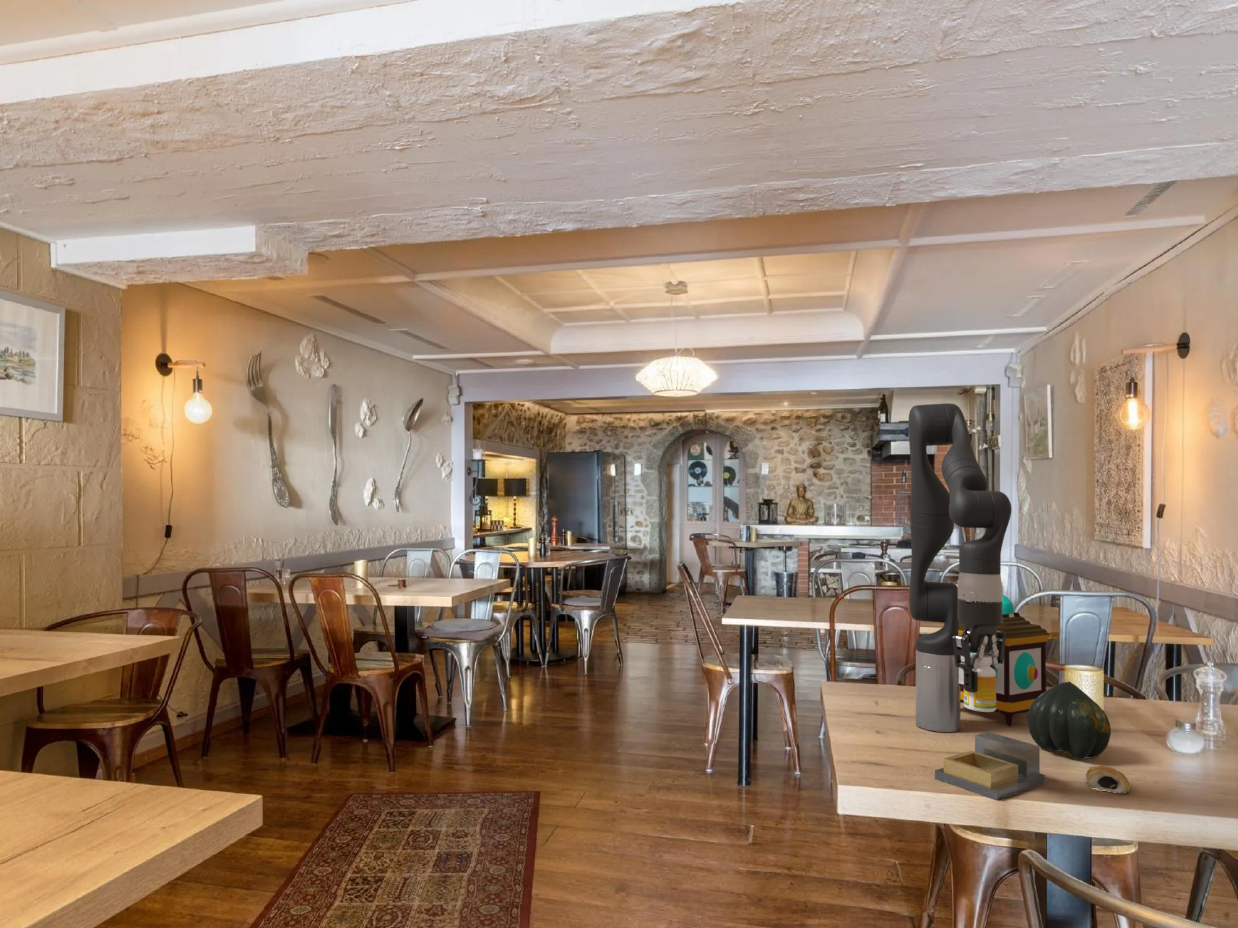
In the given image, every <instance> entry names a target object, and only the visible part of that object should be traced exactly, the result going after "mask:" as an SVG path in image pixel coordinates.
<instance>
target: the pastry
mask: <svg viewBox="0 0 1238 928" xmlns="http://www.w3.org/2000/svg"><path fill="white" fill-rule="evenodd" d="M1085 777H1086V779H1087V781H1086V784H1087V787H1088V788H1089V787H1091V788H1097V789H1099V790H1106V791H1110V792H1116V793H1125V792H1128V791H1129V792H1130V790H1131V785H1130V781H1129V780H1128V778H1127V777H1126V776H1125V774H1124V773H1123V772H1122V771H1119V770H1117V769H1115V768H1113V767H1110V766H1109V767H1108V766H1104V765H1096V766H1090V767H1089V769H1087V771H1086V774H1085ZM1091 788H1090V789H1091ZM1129 792H1128V793H1129ZM1116 793H1115V794H1116Z"/></svg>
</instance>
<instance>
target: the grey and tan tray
mask: <svg viewBox="0 0 1238 928" xmlns="http://www.w3.org/2000/svg"><path fill="white" fill-rule="evenodd" d="M1040 748H1041V747H1040V746H1039V745H1037V744H1034V743H1031V742H1030V743H1029V742H1026V741H1023V740H1018V739H1015V738H1012V737H1008V736H1005V735H1000V734H997V733H993V732H989V731H987V732H982V733H979V734H978V733H977V734H975V735H974V751H973V750H968V751H965V752H962V753H959V754H954V755H953V756H949V757H944V758H943V767H941V768H938V769H935V770H934V779H935V780H938V781H941V782H944V783H946V782H947V784H950V785H951V786H956V787H957V788H958V787H959V788H960V789H963V788H964V790H966V791H970V792H973V793H975V794H978V793H979V794H978V795H981V796H984V797H986V798H990V799H993V800H996V801H999V800H1002V798H1003V799H1005V798H1008V797H1010V795H1011V796H1015V795H1016V794H1015V793H1017V794H1019V793H1021V792H1025V791H1027V790H1030V788H1031V789H1033V788H1035V787H1039V786H1041V785H1045V784H1046V775H1045V774H1043V773H1041V771H1040V767H1041V765H1040V762H1041V761H1040V760H1041V758H1040V754H1041V753H1040V751H1041V750H1040Z"/></svg>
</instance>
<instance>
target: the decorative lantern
mask: <svg viewBox="0 0 1238 928" xmlns="http://www.w3.org/2000/svg"><path fill="white" fill-rule="evenodd" d="M995 627H996V631H1001V632H1005V633H1006V642H1005V652H1004V661H1003V664H998V668H996V710H995V711H994V713H999V714H1001V715H1003V717H1004V722H1005V725H1006V727H1009V728H1010V727H1012V725H1013V721H1014V720H1013V719H1014V716H1016V715H1019V714H1021V715H1022V714H1025V713H1028V711H1029V709H1030V707H1031V705H1032V703H1033V702H1034V701H1035V699H1036V698H1037V697H1039V696H1040V695H1041V694H1042V693H1044V692H1045V691H1047V687H1046V686H1047V685H1046V684H1047V682H1046V681H1047V676H1046V675H1047V673H1046V672H1047V670H1046V667H1047V665H1046V664H1047V663H1046V655H1047V654H1046V653H1047V652H1046V645H1047V642H1048V640H1049V639H1050V637H1051V633H1050V632H1048V631H1047V629H1045V628H1042V626H1041V625H1040V624H1035V623H1031V622H1030V621H1029V620H1027V619H1025V617H1023V616H1020V612H1014V604H1013V601H1011V599H1010V598H1008V596H1006V595H1005V594H1003V593H1002V624H1001V625H998V626H995ZM963 629H964V624H963V623H962V622H960V621H959V628H958V636H960V635H962V633H963ZM970 653H971V652H970ZM998 653H999V651H998ZM972 654H976V653H972ZM997 657H998V655H997ZM962 660H963V656H961V661H962ZM959 685H960V704H964V671H963V670H962V669H961V668H959Z"/></svg>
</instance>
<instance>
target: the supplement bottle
mask: <svg viewBox="0 0 1238 928" xmlns="http://www.w3.org/2000/svg"><path fill="white" fill-rule="evenodd" d="M972 662H973V659H971V664H972ZM991 664H992V657H991V656H989V655H984V654H983V658H982V660H980V661H979V663H978V668H977V671H976V672H977V692H975V693H972V692H968V691H965V690H964V703H963V706H964V707H965V708H966V709H968V710H970V711H974V712H975V711H976V712H983V713H992V712H995V710H996V672H995V670H994V669H993V668H991V667H990V665H991Z"/></svg>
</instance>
